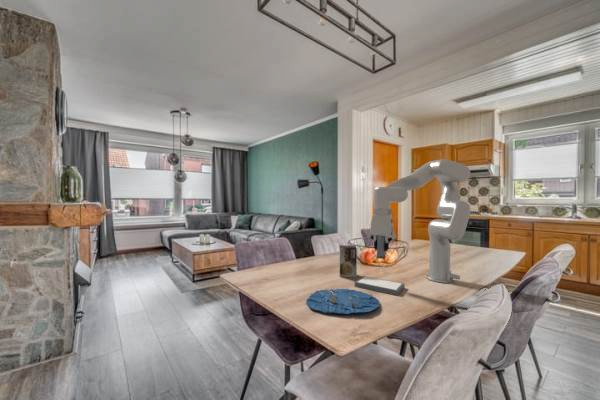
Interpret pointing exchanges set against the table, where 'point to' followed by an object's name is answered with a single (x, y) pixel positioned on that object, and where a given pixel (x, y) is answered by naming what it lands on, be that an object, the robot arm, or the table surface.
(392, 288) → the drawing board
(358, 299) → the decorative plate
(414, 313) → the table surface
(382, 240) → the marker
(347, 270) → the coffee box
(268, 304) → the table surface
